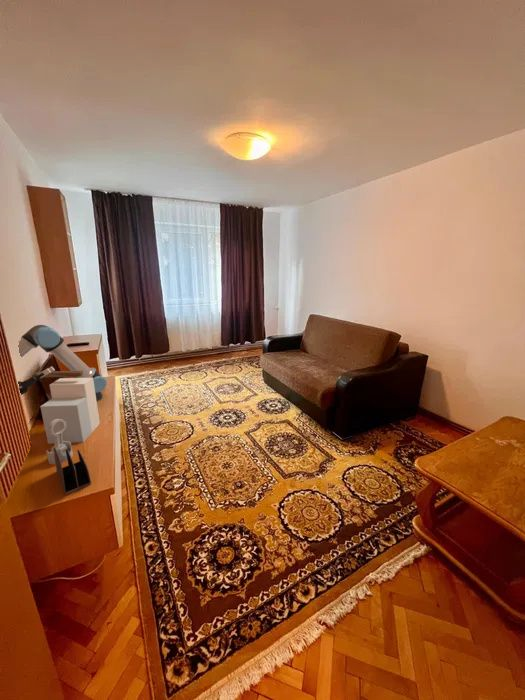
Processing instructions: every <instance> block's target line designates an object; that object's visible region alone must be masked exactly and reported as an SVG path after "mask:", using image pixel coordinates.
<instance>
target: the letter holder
mask: <svg viewBox="0 0 525 700" xmlns="http://www.w3.org/2000/svg"><path fill="white" fill-rule="evenodd" d="M53 447H54V446H53ZM53 449H54V457H55V463H56V464H55V467H56V468H55V469H56V473H57V476H58V479H59V482H60V485H61V488H62V491H63V494H64V496H66V494H67V495H69V494H71V493H73V491H74V492H76V491H78V489H79V490H81V489H83V488H85V486H86V487H88V486H91V485H92V481H91V475H90V471H89V469H88V466H87V463H86V461H85V459H84V457H83V456H82V453H81V451H80V450H79V449H77V455H78V460H79V461H77V462H75V463H74V461H73V459H72V458H71V456H70V454H69V452H68V450H67V449H66V455H67V460H68V461H67V464H68V465H67V466H62V463H61V462H60V459H59V456H58V453H57V451H56V449H55V447H54V448H53ZM87 485H88V486H87ZM80 488H81V489H80Z"/></svg>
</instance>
